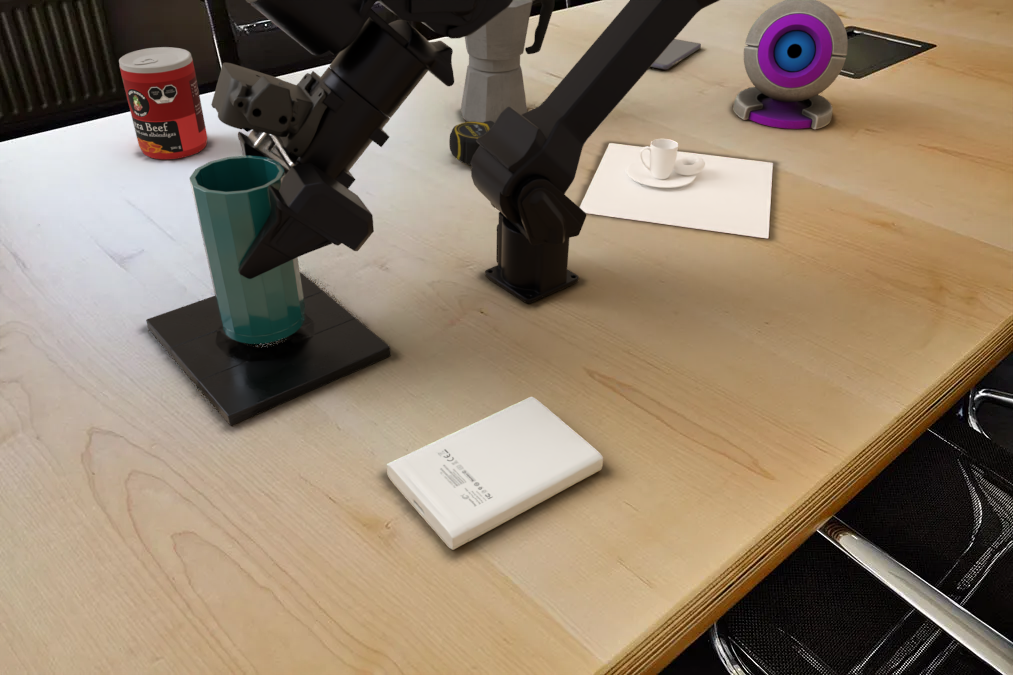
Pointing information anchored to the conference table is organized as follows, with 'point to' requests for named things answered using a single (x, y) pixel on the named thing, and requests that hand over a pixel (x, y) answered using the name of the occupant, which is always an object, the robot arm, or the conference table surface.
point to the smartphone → (675, 53)
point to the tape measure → (467, 139)
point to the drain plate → (266, 354)
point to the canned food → (164, 102)
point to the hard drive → (493, 470)
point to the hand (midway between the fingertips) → (234, 253)
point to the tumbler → (245, 249)
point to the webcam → (792, 65)
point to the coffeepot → (501, 61)
